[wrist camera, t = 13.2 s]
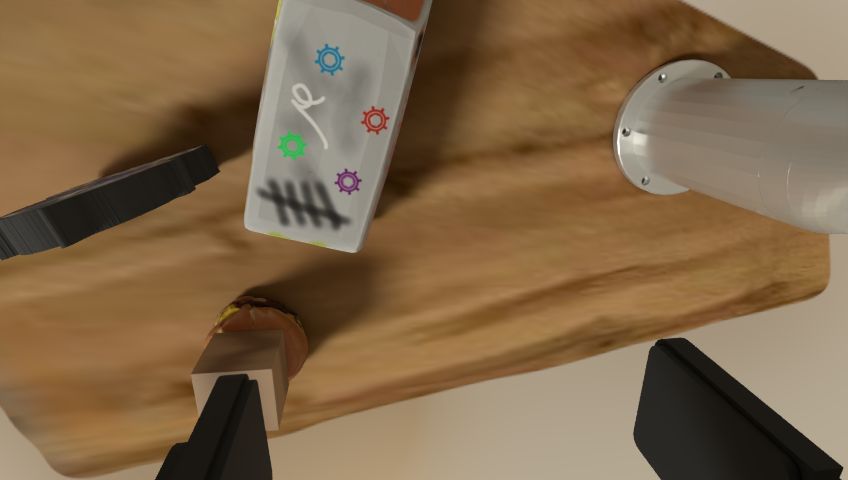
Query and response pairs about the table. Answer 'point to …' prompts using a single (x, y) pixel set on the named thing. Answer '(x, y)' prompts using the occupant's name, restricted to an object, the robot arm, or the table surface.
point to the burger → (265, 326)
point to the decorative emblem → (104, 203)
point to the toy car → (331, 116)
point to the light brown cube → (246, 368)
